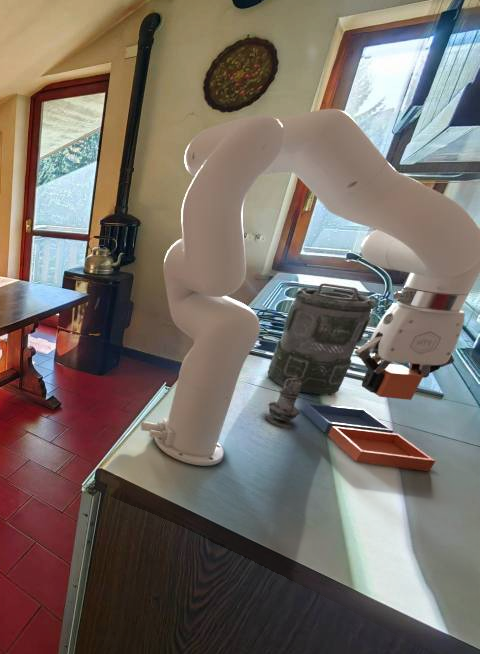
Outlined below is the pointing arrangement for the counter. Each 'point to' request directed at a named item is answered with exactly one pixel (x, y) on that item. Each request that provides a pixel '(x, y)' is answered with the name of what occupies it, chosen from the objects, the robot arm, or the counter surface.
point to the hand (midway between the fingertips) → (386, 390)
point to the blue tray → (343, 418)
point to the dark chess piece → (285, 404)
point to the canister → (320, 338)
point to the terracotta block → (399, 382)
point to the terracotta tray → (380, 448)
